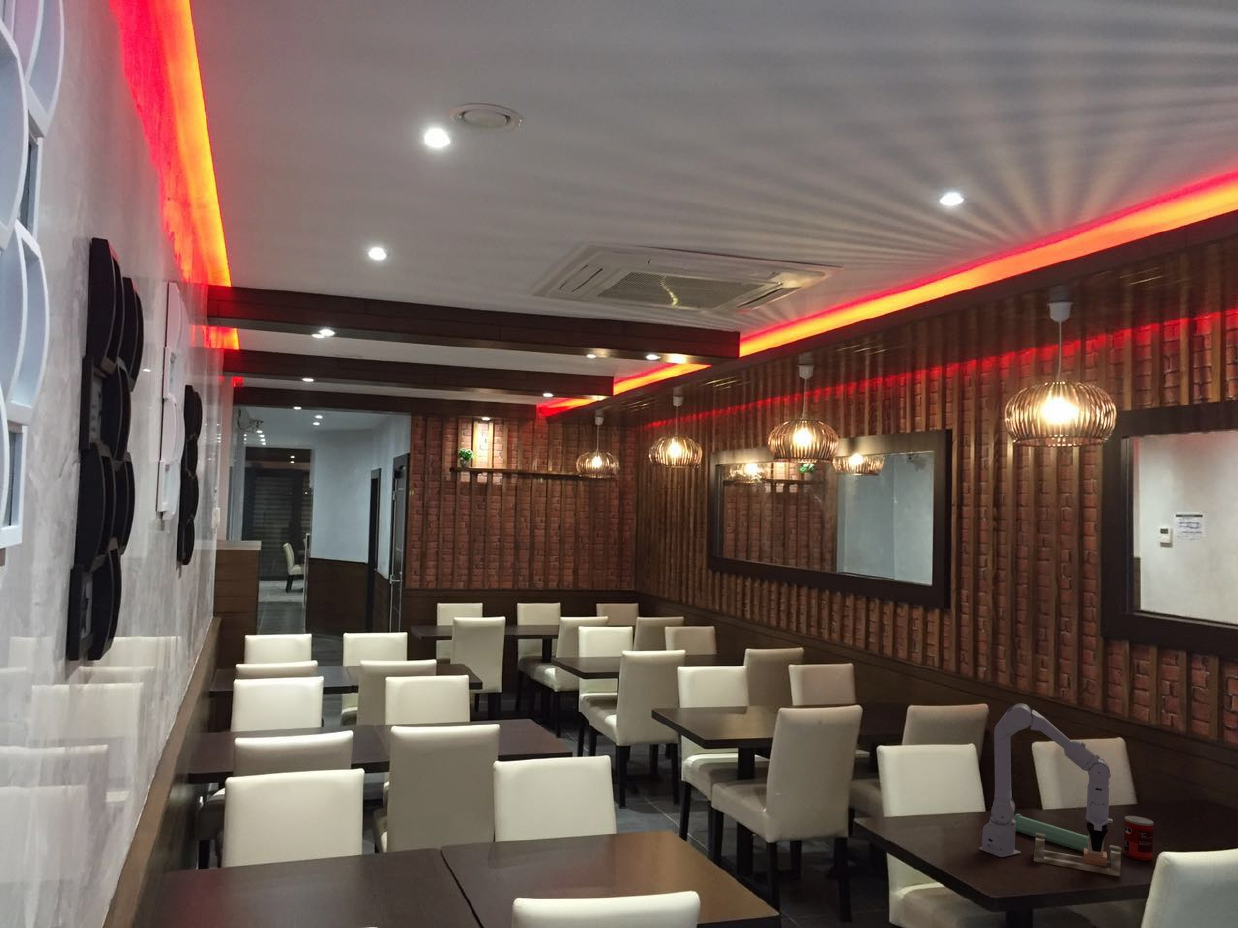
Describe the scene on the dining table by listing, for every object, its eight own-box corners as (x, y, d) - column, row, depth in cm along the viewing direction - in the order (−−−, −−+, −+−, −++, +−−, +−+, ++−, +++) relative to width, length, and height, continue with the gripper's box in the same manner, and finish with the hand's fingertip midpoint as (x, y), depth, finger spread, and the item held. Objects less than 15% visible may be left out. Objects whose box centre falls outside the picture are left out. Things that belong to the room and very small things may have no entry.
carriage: (1083, 863, 293) (1084, 835, 293) (1083, 857, 299) (1084, 830, 299) (1107, 867, 291) (1107, 839, 291) (1106, 861, 296) (1107, 834, 297)
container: (1095, 832, 310) (1019, 809, 329) (1086, 842, 306) (1010, 819, 326) (1098, 849, 311) (1022, 825, 330) (1089, 860, 307) (1012, 835, 327)
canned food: (1126, 850, 314) (1127, 813, 314) (1155, 856, 309) (1156, 820, 309) (1120, 855, 308) (1121, 818, 308) (1149, 862, 303) (1150, 824, 303)
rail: (1033, 860, 297) (1034, 837, 298) (1034, 853, 305) (1034, 830, 305) (1121, 876, 288) (1122, 852, 288) (1120, 868, 295) (1120, 844, 296)
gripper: (1114, 810, 287) (1112, 859, 286) (1112, 798, 300) (1110, 845, 300) (1086, 806, 290) (1085, 854, 289) (1085, 794, 303) (1084, 840, 303)
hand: (1096, 849), depth 295 cm, fingers closed on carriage, 2 cm apart
